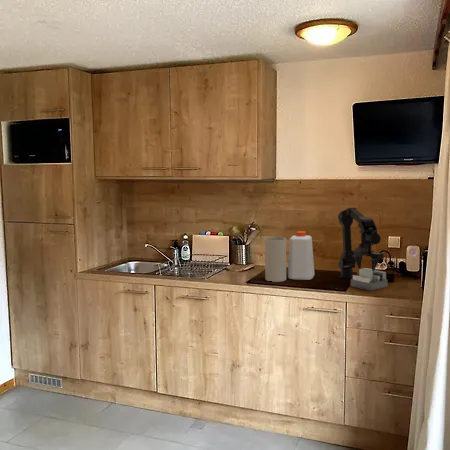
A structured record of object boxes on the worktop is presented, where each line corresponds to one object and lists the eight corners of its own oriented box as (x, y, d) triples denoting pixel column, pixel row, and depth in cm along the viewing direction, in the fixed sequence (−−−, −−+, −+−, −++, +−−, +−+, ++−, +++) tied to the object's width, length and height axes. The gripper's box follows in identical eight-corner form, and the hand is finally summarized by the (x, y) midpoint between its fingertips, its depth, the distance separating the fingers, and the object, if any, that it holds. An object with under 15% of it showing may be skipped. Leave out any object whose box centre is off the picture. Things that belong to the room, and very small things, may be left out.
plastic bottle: (286, 279, 300) (286, 233, 296) (290, 274, 314) (290, 229, 311) (312, 280, 295) (311, 233, 292) (315, 275, 310) (315, 230, 306)
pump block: (359, 279, 277) (359, 269, 277) (365, 278, 280) (365, 268, 279) (366, 281, 273) (366, 270, 272) (372, 280, 276) (372, 269, 275)
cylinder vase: (275, 276, 308) (274, 236, 305) (290, 279, 299) (290, 238, 296) (261, 280, 300) (260, 238, 297) (276, 283, 291) (275, 240, 288)
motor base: (350, 286, 280) (350, 272, 279) (366, 282, 288) (366, 268, 287) (371, 290, 269) (371, 276, 268) (387, 286, 277) (387, 272, 276)
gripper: (343, 241, 277) (343, 269, 279) (370, 245, 262) (370, 274, 264) (356, 239, 283) (356, 266, 285) (384, 242, 268) (383, 271, 270)
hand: (366, 269), depth 276 cm, fingers open, 9 cm apart
